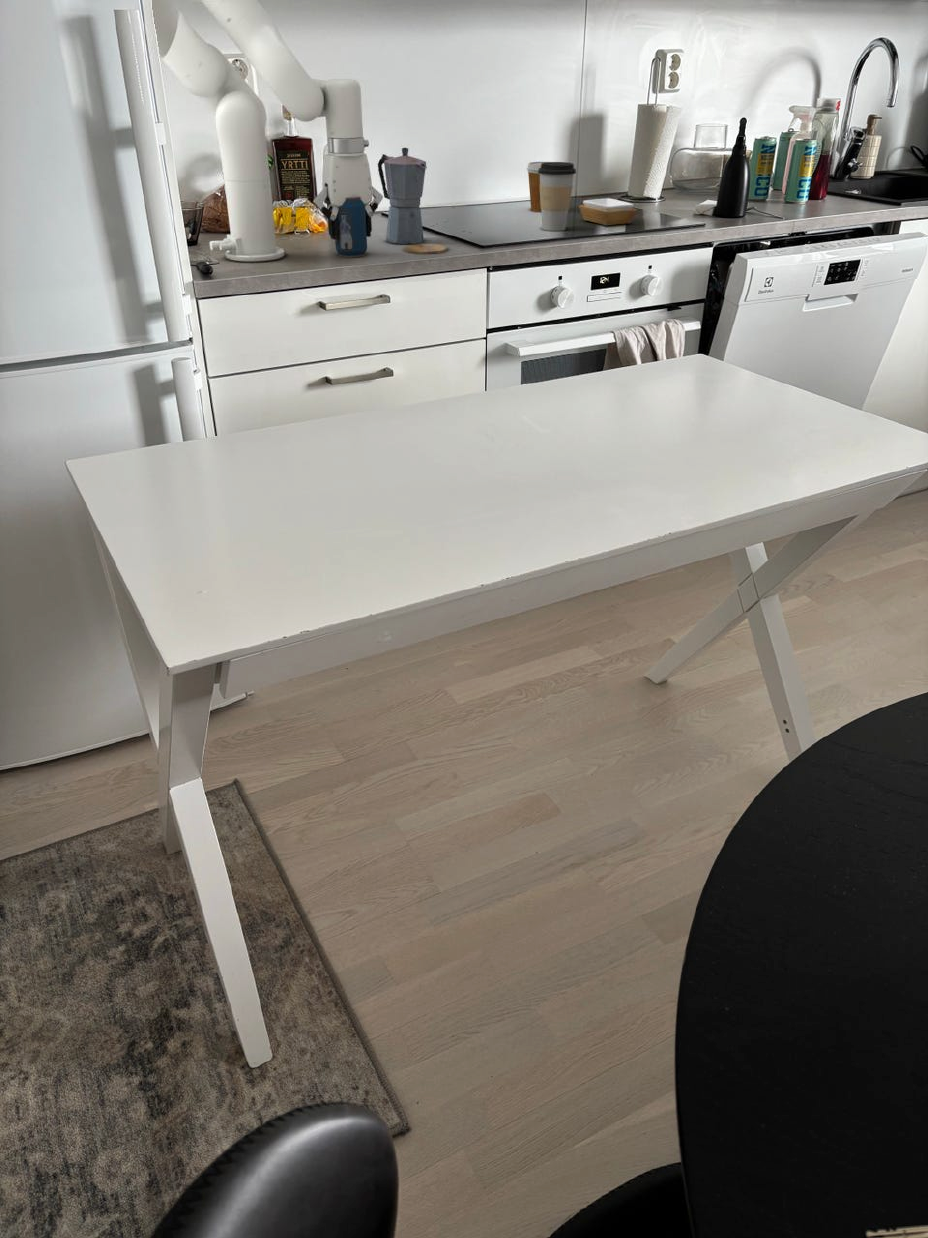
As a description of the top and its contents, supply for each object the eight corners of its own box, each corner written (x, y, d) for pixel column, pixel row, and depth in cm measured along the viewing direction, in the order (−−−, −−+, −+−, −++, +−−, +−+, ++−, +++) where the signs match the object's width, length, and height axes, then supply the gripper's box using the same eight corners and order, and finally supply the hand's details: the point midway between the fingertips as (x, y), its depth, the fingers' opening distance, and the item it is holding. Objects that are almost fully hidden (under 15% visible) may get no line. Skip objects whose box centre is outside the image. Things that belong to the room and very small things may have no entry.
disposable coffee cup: (526, 207, 267) (528, 160, 260) (559, 208, 266) (562, 161, 259) (523, 212, 259) (525, 164, 252) (558, 213, 258) (560, 165, 251)
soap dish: (577, 220, 247) (578, 199, 244) (607, 217, 251) (608, 197, 248) (606, 227, 238) (607, 205, 235) (636, 224, 242) (638, 203, 239)
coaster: (418, 255, 206) (418, 252, 205) (398, 248, 212) (398, 246, 212) (453, 251, 210) (453, 248, 210) (433, 244, 216) (433, 242, 216)
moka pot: (415, 247, 213) (412, 150, 203) (365, 240, 221) (360, 146, 211) (441, 241, 220) (440, 147, 209) (391, 234, 228) (388, 143, 217)
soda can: (363, 251, 210) (360, 193, 203) (370, 256, 204) (367, 197, 198) (333, 252, 208) (329, 194, 201) (339, 258, 202) (335, 198, 196)
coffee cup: (527, 228, 235) (530, 163, 227) (551, 224, 241) (554, 160, 233) (557, 233, 230) (560, 166, 222) (580, 228, 236) (584, 163, 228)
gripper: (374, 143, 201) (378, 231, 211) (300, 147, 193) (307, 238, 203) (390, 146, 196) (393, 236, 205) (315, 150, 188) (321, 243, 197)
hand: (350, 236), depth 204 cm, fingers closed on soda can, 7 cm apart
